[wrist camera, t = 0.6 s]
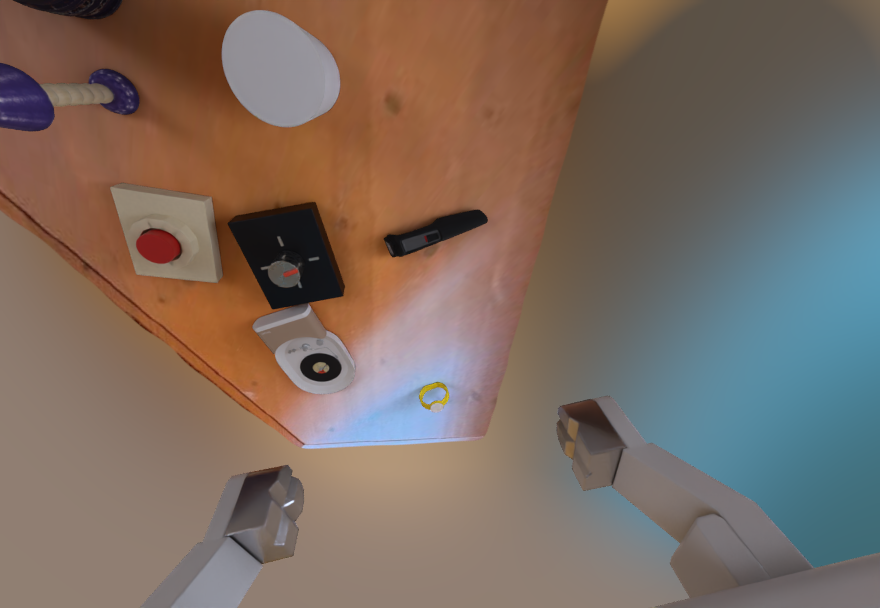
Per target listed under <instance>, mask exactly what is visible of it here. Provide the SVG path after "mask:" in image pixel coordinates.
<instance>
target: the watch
mask: <svg viewBox="0 0 880 608" xmlns="http://www.w3.org/2000/svg"><path fill="white" fill-rule="evenodd" d="M437 387H440V388H443V389H444V390H445V391H446V395H445V398H444V399H443V400H442V401H434V402H432V403H431V404H426V403H424V402H423V401H422V399H423V395H424V394H425V393H426V392H427V391H428V390H431V389H434V388H437ZM419 399H420V402H421V404H422V406H423V407H425V408H426V409H428V410H431V411H432V412H440V411H441V410H443V408H444V405H445V404H446V403H447V402H448V399H449V392H448V389H447V387H446V386H445V385H444V384H443V383H440V382H436V383H433V384H430V385H427V386H424V387H423V389H422V390H421V391H420V395H419Z"/></svg>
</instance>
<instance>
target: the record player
mask: <svg viewBox="0 0 880 608" xmlns="http://www.w3.org/2000/svg"><path fill="white" fill-rule="evenodd" d="M253 329H254V331H255V332H256V333H257V334H258V336H259V337H260V338H261V339H262V340H263V342H264V343H265V344H266V345H267V347H268V348H269V349H270V350H271V351H272V353H273V354H275V356H276V360H277V362H278V364H279V365H280V367H281V368H282V369H283V371H284V372H285V373H286V374H287V375H288V377H289V378H290V379H291V380H292V381H293V382H294V384H295V385H296V386H298V387H299V388H301V389H302V390H304V391H307V392H310V393H314V394H331V393H336V392H339V391H341V390H343V389H345V388H346V387H348V386H349V385H350V384H351V382H352V381H353V379H354V376H355V363H354V361H353V359H352V357H351V356H350V354H349V352H348V351H347V349H346V348H345V346H344V345H343V343H342V342H341V340H340V339H339V338H338V337H337V336H336V335H335V334H333V333H331V332H329V331H327V330H325V328H324V327H323V325H322V324H321V322H320V321H319V319H318V318H317V316H316V314H315V313H314V311H313V310H312V308H311V307H310V305H309V303H304V304H300V305H297V306H294V307H291V308H288V309H285V310H281V311H278V312H275V313H272V314H269V315H266V316H263V317H260V318H258V319H257V320H256V321H255V323H254V324H253ZM275 351H276V352H275Z"/></svg>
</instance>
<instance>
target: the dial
mask: <svg viewBox="0 0 880 608" xmlns="http://www.w3.org/2000/svg"><path fill="white" fill-rule="evenodd" d="M304 268H305V262H304V260H303V258H302V257H301V256H300V255H299V254H298V253H296V252H294V251H289V250H286V251H282V252H280V253H278V254H277V256H276V257H275V259H274V260H273V262H272V264H271V265H270V267H269V269H268V275H269V278H270V279H271V281H272V282H273V283H275V284H276V285H278V286H280V287H285V288H288V287H293V286H295V285H296V284H297V283H298V282H299V280H300V278H301V275H302V273H303V271H304Z"/></svg>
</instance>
